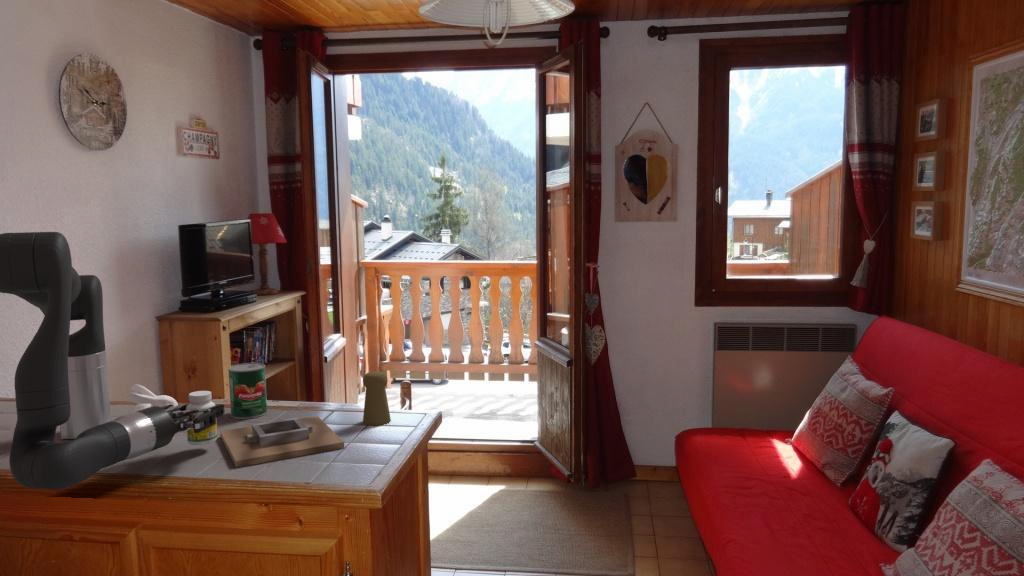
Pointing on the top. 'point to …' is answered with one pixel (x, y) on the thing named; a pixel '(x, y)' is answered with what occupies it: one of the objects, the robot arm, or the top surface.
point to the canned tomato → (247, 390)
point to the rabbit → (148, 398)
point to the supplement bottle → (199, 402)
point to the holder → (279, 440)
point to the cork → (375, 399)
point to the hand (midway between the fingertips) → (210, 407)
